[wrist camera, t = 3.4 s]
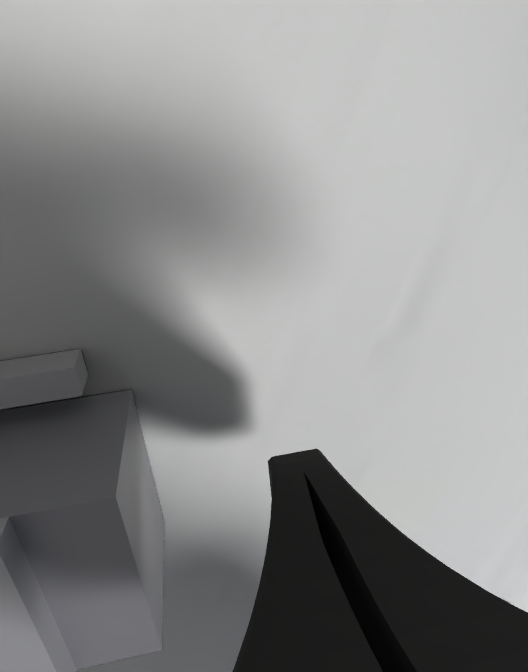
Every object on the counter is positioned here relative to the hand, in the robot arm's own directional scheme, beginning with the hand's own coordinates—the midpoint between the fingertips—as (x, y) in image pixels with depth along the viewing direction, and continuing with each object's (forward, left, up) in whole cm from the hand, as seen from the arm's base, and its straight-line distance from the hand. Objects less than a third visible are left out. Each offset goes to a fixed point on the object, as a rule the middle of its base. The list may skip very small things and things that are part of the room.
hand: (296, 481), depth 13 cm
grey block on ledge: (+6, 0, -2) cm, 7 cm away
